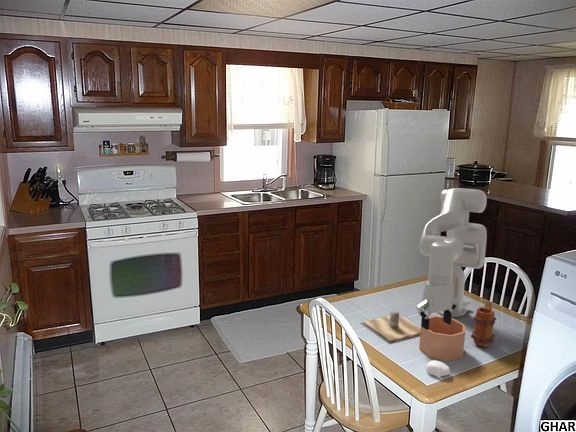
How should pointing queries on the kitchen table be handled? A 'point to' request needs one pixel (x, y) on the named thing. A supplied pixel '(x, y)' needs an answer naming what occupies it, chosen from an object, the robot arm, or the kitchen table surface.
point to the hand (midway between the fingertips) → (436, 325)
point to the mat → (386, 340)
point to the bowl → (443, 339)
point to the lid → (393, 327)
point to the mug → (484, 325)
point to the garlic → (437, 369)
